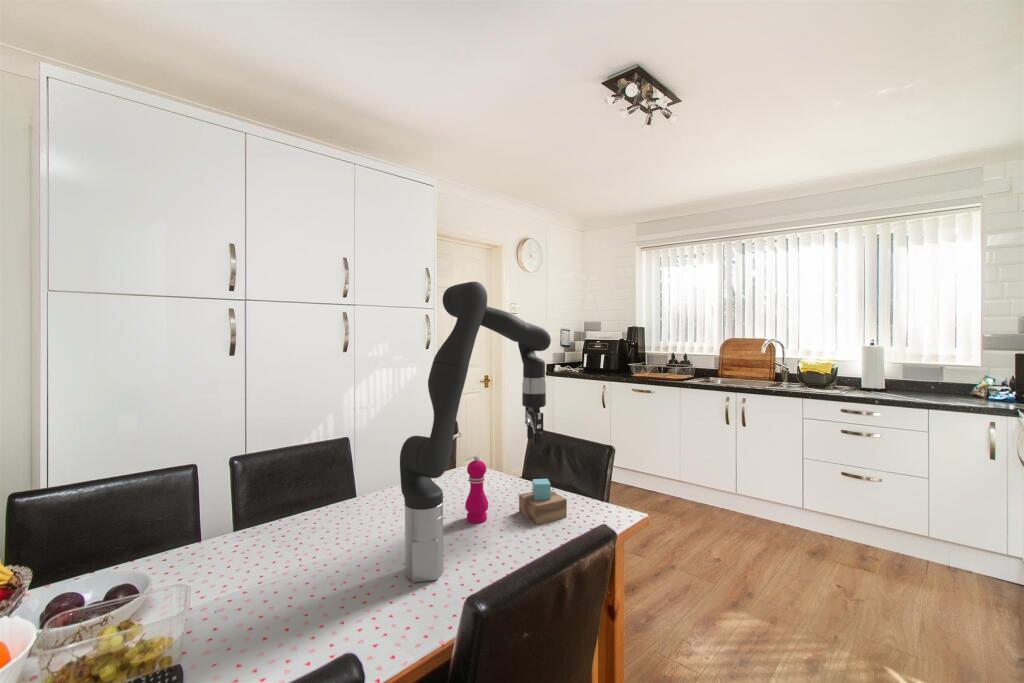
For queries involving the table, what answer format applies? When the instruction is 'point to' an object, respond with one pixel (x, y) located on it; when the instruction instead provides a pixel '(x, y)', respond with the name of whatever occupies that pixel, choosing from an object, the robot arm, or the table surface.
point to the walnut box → (543, 508)
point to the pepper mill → (476, 492)
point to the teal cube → (541, 489)
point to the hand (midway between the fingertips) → (533, 441)
